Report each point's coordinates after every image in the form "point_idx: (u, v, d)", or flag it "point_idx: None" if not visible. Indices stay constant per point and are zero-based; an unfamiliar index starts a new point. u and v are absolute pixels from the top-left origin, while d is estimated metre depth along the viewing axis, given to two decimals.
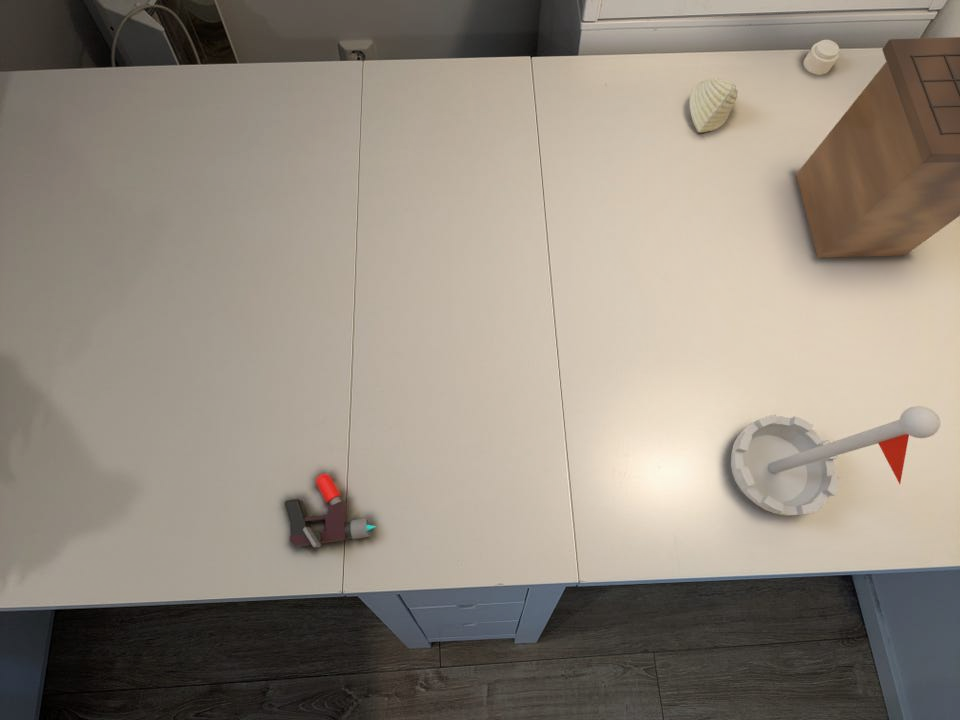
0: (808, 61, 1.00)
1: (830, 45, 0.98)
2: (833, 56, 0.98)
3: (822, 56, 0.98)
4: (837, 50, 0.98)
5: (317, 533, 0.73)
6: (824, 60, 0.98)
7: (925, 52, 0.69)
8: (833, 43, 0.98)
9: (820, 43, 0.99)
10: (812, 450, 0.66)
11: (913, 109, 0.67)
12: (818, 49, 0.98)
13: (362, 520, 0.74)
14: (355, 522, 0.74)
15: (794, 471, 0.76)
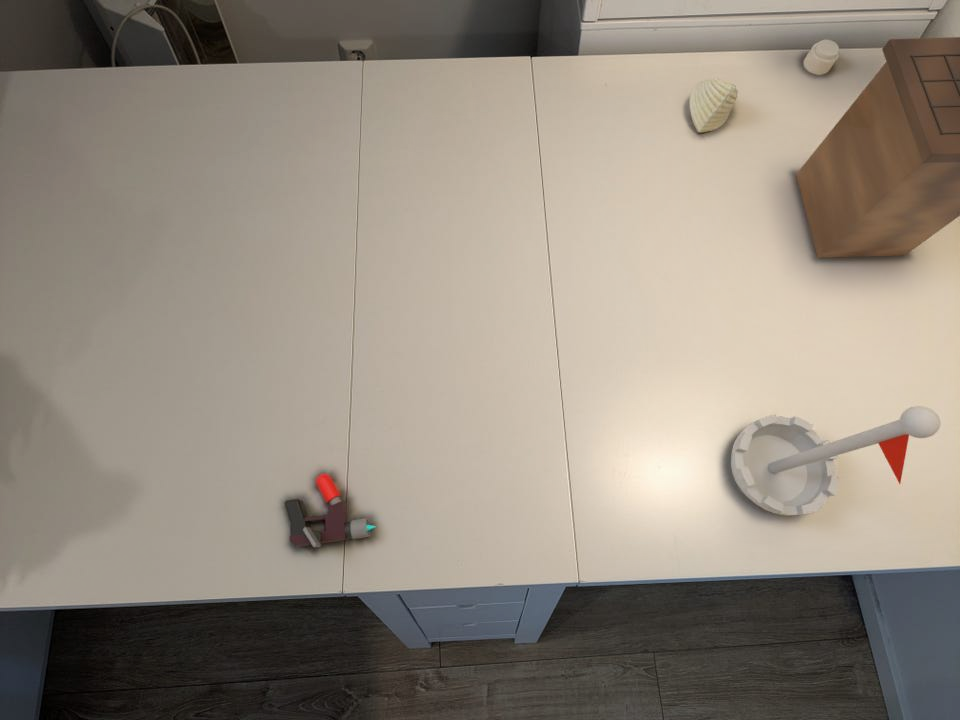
0: (808, 61, 1.00)
1: (830, 45, 0.98)
2: (833, 56, 0.98)
3: (822, 56, 0.98)
4: (837, 50, 0.98)
5: (317, 533, 0.73)
6: (824, 60, 0.98)
7: (925, 52, 0.69)
8: (833, 43, 0.98)
9: (820, 43, 0.99)
10: (812, 450, 0.66)
11: (913, 109, 0.67)
12: (818, 49, 0.98)
13: (362, 520, 0.74)
14: (355, 522, 0.74)
15: (794, 471, 0.76)
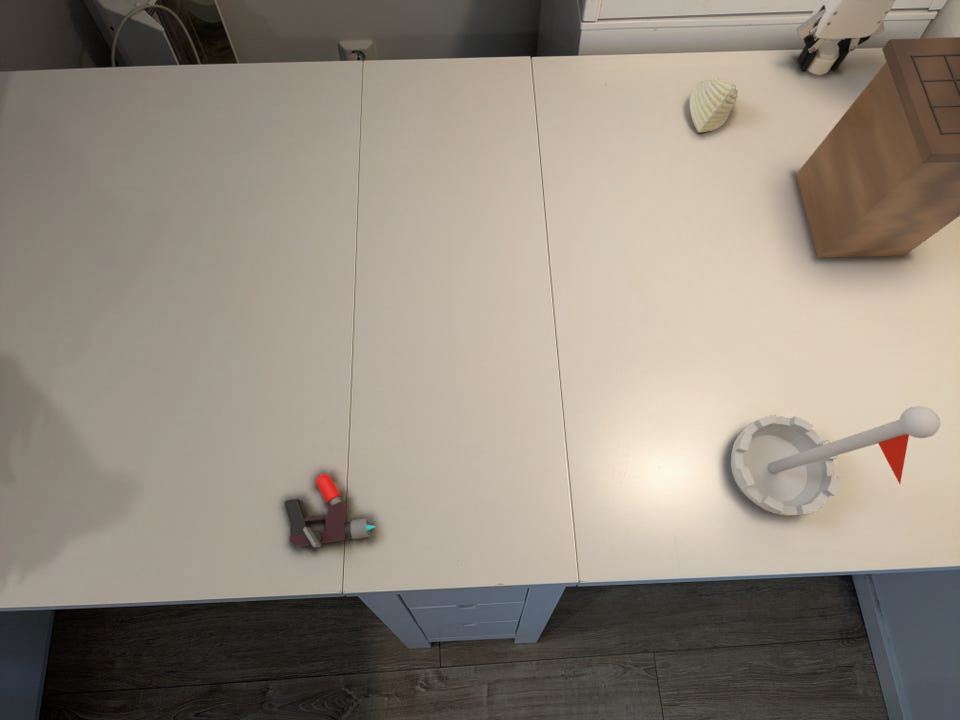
0: None
1: (830, 45, 0.98)
2: (833, 56, 0.98)
3: (822, 56, 0.98)
4: (837, 50, 0.98)
5: (317, 533, 0.73)
6: (824, 60, 0.98)
7: (925, 52, 0.69)
8: (833, 43, 0.98)
9: None
10: (812, 450, 0.66)
11: (913, 109, 0.67)
12: (818, 49, 0.98)
13: (362, 520, 0.74)
14: (355, 522, 0.74)
15: (794, 471, 0.76)
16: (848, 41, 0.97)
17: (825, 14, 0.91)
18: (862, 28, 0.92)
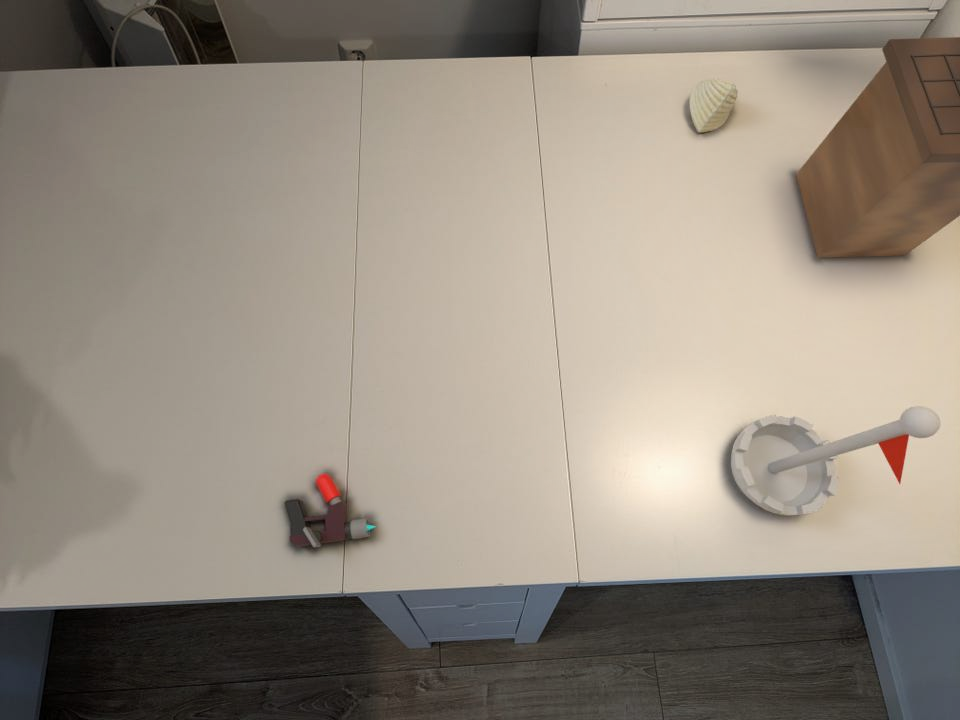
0: None
1: None
2: None
3: None
4: None
5: (317, 533, 0.73)
6: None
7: (925, 52, 0.69)
8: None
9: None
10: (812, 450, 0.66)
11: (913, 109, 0.67)
12: None
13: (362, 520, 0.74)
14: (355, 522, 0.74)
15: (794, 471, 0.76)
16: None
17: None
18: None
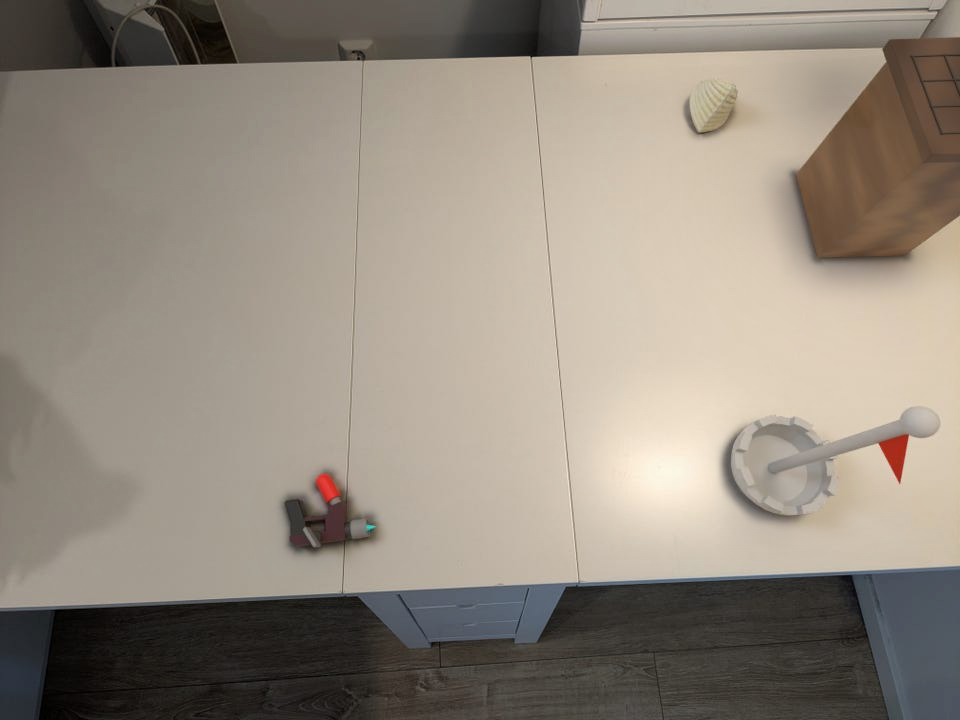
0: None
1: None
2: None
3: None
4: None
5: (317, 533, 0.73)
6: None
7: (925, 52, 0.69)
8: None
9: None
10: (812, 450, 0.66)
11: (913, 109, 0.67)
12: None
13: (362, 520, 0.74)
14: (355, 522, 0.74)
15: (794, 471, 0.76)
16: None
17: None
18: None
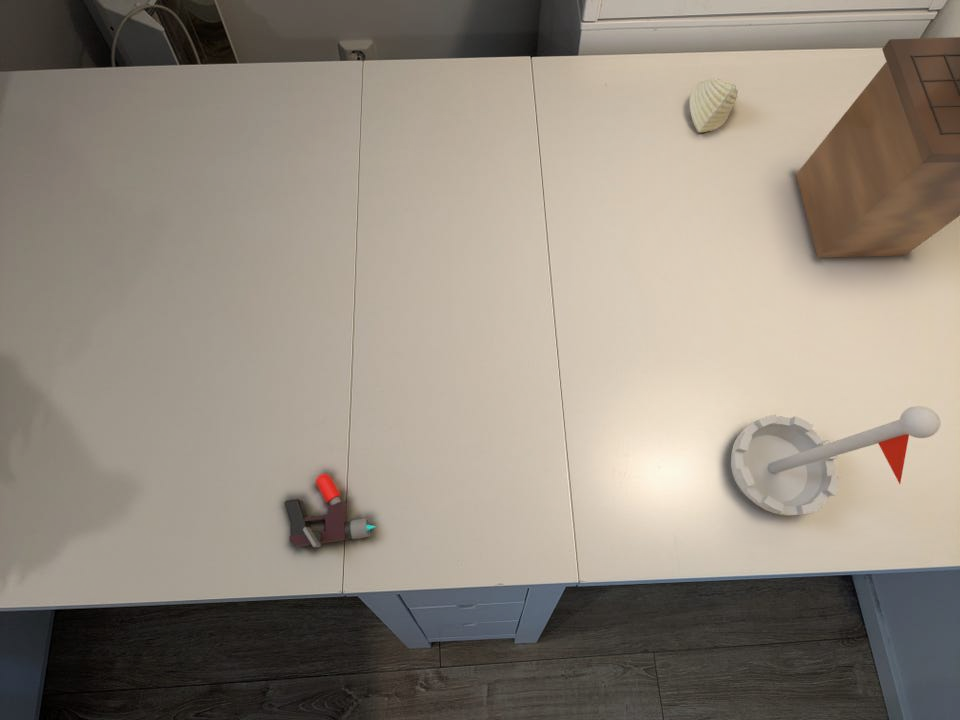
0: None
1: None
2: None
3: None
4: None
5: (317, 533, 0.73)
6: None
7: (925, 52, 0.69)
8: None
9: None
10: (812, 450, 0.66)
11: (913, 109, 0.67)
12: None
13: (362, 520, 0.74)
14: (355, 522, 0.74)
15: (794, 471, 0.76)
16: None
17: None
18: None
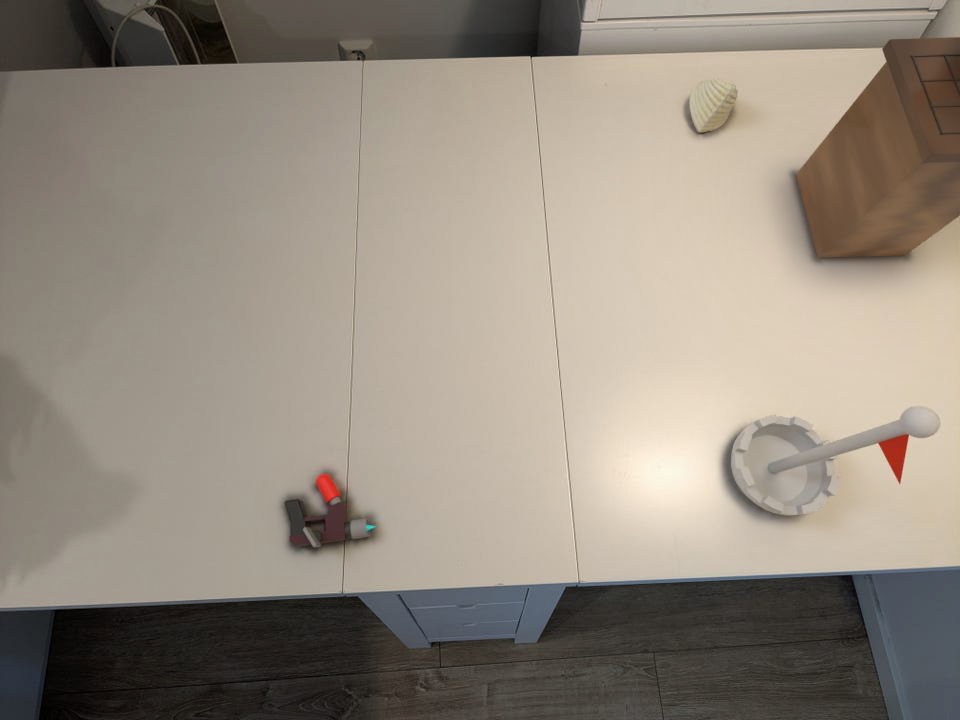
0: None
1: None
2: None
3: None
4: None
5: (317, 533, 0.73)
6: None
7: (925, 52, 0.69)
8: None
9: None
10: (812, 450, 0.66)
11: (913, 109, 0.67)
12: None
13: (362, 520, 0.74)
14: (355, 522, 0.74)
15: (794, 471, 0.76)
16: None
17: None
18: None
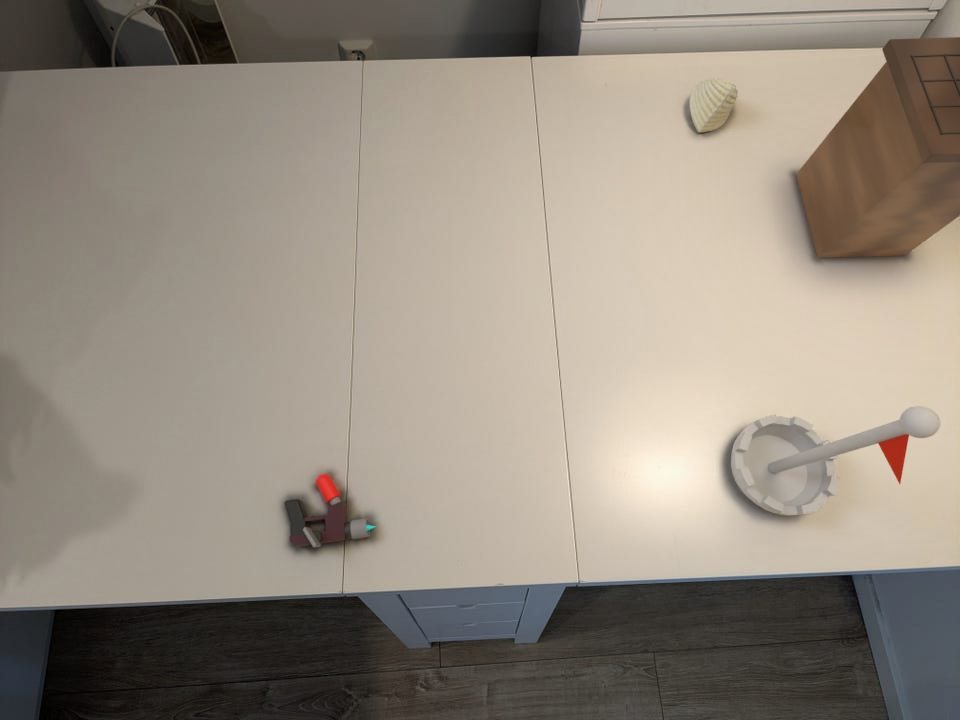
0: None
1: None
2: None
3: None
4: None
5: (317, 533, 0.73)
6: None
7: (925, 52, 0.69)
8: None
9: None
10: (812, 450, 0.66)
11: (913, 109, 0.67)
12: None
13: (362, 520, 0.74)
14: (355, 522, 0.74)
15: (794, 471, 0.76)
16: None
17: None
18: None
